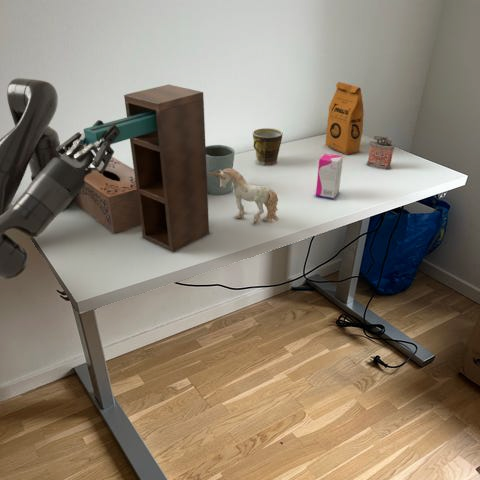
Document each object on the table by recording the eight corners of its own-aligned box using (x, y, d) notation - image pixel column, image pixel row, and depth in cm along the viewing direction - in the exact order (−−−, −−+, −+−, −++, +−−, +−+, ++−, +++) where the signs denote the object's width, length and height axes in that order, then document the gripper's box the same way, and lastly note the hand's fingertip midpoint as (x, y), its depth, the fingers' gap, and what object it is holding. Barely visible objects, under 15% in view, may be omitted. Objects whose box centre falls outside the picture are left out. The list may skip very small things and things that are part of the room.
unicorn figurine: (216, 208, 141) (214, 162, 133) (283, 217, 137) (285, 169, 129) (208, 219, 135) (206, 172, 127) (277, 228, 131) (280, 180, 123)
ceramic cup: (262, 155, 176) (263, 126, 170) (286, 161, 172) (288, 131, 165) (241, 165, 168) (241, 136, 162) (266, 172, 163) (267, 141, 157)
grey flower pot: (206, 181, 157) (205, 143, 149) (237, 184, 155) (237, 145, 148) (198, 194, 149) (196, 154, 142) (230, 197, 147) (230, 157, 140)
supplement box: (339, 192, 150) (344, 155, 143) (333, 200, 146) (338, 161, 139) (320, 189, 152) (324, 152, 145) (314, 196, 148) (318, 158, 141)
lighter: (391, 167, 167) (397, 137, 161) (388, 170, 165) (394, 139, 159) (369, 162, 170) (373, 132, 164) (365, 165, 168) (370, 135, 162)
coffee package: (342, 156, 175) (351, 90, 162) (321, 146, 184) (327, 82, 170) (364, 152, 179) (374, 86, 166) (341, 142, 188) (349, 79, 174)
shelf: (172, 252, 121) (158, 103, 100) (142, 238, 127) (123, 94, 106) (209, 233, 129) (203, 92, 108) (179, 221, 135) (168, 84, 114)
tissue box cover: (161, 218, 136) (157, 183, 130) (114, 233, 129) (108, 197, 123) (117, 189, 152) (112, 156, 146) (73, 201, 145) (65, 167, 139)
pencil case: (98, 148, 98) (95, 132, 96) (86, 144, 100) (83, 128, 98) (178, 124, 111) (177, 109, 109) (166, 120, 113) (165, 106, 111)
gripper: (47, 191, 103) (98, 132, 107) (87, 210, 96) (141, 147, 99) (22, 165, 97) (78, 104, 101) (63, 184, 89) (122, 117, 93)
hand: (109, 126), depth 100 cm, fingers closed on pencil case, 4 cm apart
